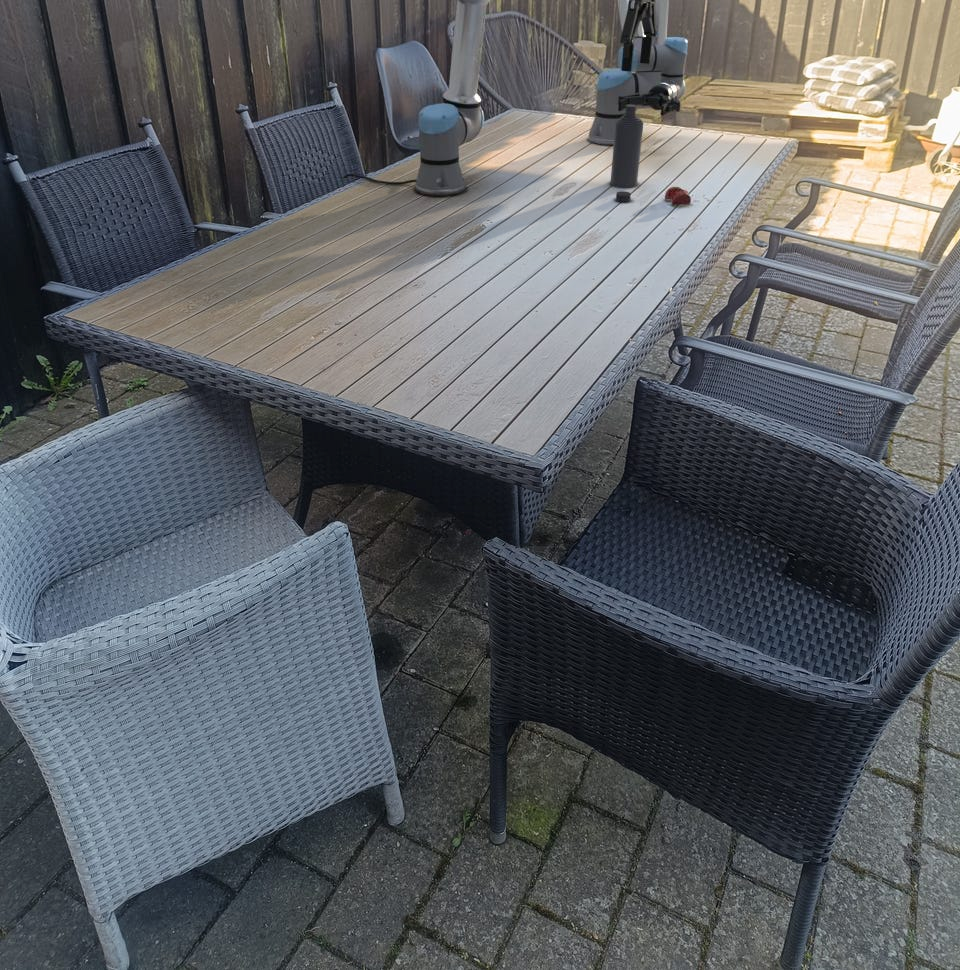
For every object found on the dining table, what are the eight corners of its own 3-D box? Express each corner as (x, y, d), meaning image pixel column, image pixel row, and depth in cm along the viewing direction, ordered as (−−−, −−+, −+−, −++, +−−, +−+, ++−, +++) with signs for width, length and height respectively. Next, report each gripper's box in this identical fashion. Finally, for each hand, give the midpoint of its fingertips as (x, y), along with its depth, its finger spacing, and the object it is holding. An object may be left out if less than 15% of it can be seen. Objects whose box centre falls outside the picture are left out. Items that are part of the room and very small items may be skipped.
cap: (621, 197, 252) (622, 190, 251) (633, 200, 250) (633, 193, 249) (612, 200, 250) (613, 193, 249) (624, 203, 248) (624, 196, 246)
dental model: (681, 182, 249) (693, 190, 243) (680, 196, 252) (692, 205, 246) (664, 184, 248) (675, 192, 242) (662, 199, 251) (674, 207, 245)
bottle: (632, 189, 259) (641, 109, 246) (607, 185, 262) (613, 107, 249) (639, 181, 265) (648, 104, 252) (614, 178, 268) (621, 101, 255)
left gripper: (641, -19, 206) (631, 75, 219) (674, -27, 224) (664, 61, 236) (612, -21, 209) (605, 73, 222) (648, -29, 227) (639, 59, 239)
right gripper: (697, 112, 272) (678, 125, 256) (624, 104, 281) (601, 117, 266) (701, 86, 267) (682, 99, 252) (626, 79, 277) (603, 91, 261)
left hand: (635, 67), depth 229 cm, fingers open, 13 cm apart
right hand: (640, 108), depth 259 cm, fingers open, 13 cm apart
